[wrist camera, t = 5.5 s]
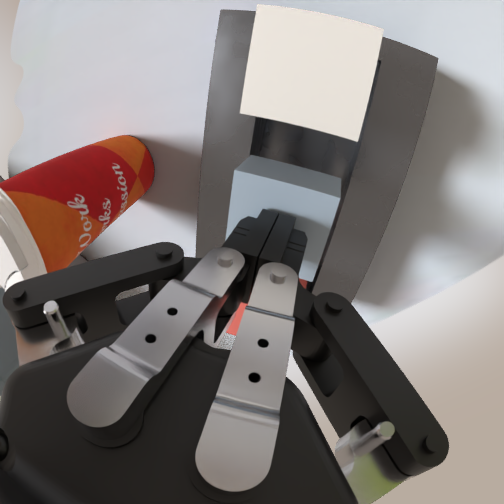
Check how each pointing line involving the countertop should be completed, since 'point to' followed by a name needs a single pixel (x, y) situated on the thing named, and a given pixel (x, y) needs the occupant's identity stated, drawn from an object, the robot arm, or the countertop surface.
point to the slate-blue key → (287, 201)
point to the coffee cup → (68, 205)
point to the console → (316, 151)
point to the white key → (310, 69)
